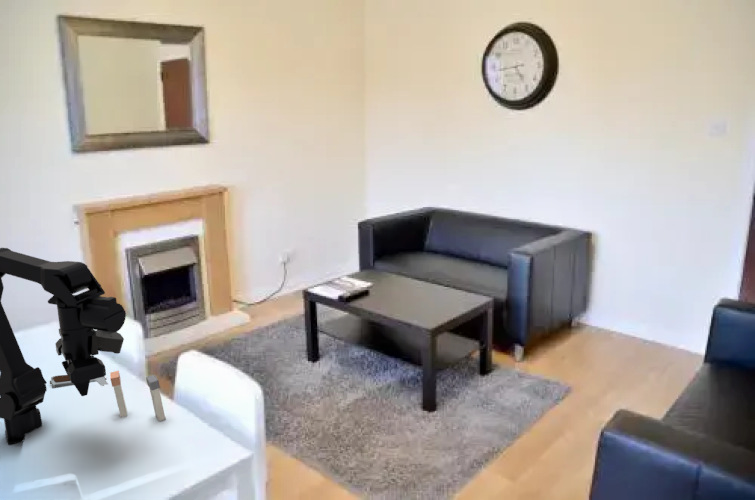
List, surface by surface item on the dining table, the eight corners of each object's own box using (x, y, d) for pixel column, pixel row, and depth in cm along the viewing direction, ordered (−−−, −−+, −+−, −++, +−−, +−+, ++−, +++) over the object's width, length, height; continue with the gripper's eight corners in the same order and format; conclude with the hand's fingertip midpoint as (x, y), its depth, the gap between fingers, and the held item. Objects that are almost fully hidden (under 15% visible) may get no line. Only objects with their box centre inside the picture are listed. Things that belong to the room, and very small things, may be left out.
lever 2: (158, 422, 137) (150, 382, 134) (154, 415, 140) (145, 377, 137) (166, 419, 138) (158, 379, 135) (162, 412, 141) (153, 374, 138)
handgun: (72, 413, 141) (124, 396, 148) (47, 376, 157) (96, 362, 164) (73, 423, 141) (125, 405, 149) (49, 384, 158) (97, 370, 165)
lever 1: (119, 418, 139) (110, 378, 136) (119, 411, 142) (110, 372, 139) (128, 415, 139) (118, 376, 136) (127, 409, 142) (118, 370, 139)
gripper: (129, 331, 119) (136, 402, 123) (107, 304, 133) (114, 368, 137) (67, 344, 112) (76, 418, 116) (51, 314, 127) (60, 381, 131)
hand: (84, 395), depth 125 cm, fingers closed
